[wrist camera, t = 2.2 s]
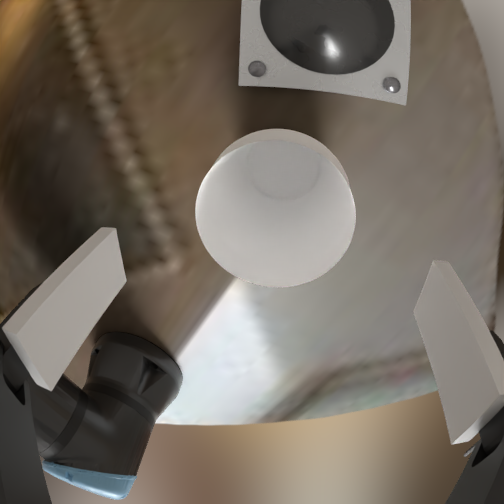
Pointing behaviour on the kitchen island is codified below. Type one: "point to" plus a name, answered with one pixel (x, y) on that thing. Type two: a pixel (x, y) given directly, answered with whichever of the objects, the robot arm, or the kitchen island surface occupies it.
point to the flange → (327, 46)
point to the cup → (276, 209)
